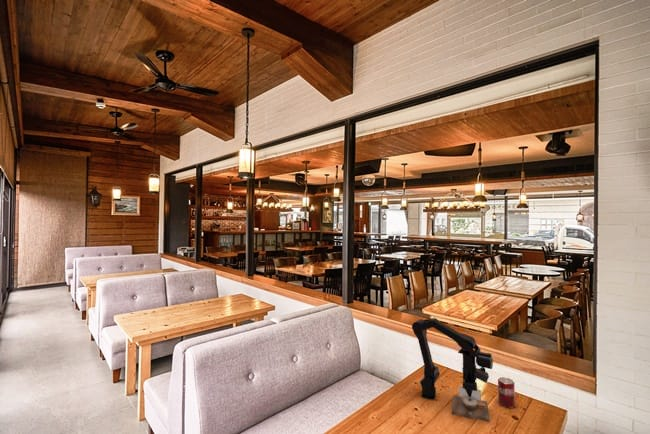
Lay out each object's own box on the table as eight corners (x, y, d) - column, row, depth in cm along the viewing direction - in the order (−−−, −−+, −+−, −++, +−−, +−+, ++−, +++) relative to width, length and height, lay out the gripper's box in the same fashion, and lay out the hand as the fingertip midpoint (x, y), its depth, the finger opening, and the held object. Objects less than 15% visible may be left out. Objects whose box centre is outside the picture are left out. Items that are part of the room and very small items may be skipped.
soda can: (517, 409, 156) (516, 384, 156) (501, 407, 157) (500, 383, 157) (511, 401, 163) (511, 377, 163) (496, 399, 164) (495, 376, 165)
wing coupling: (458, 407, 156) (458, 390, 156) (459, 399, 162) (458, 383, 162) (485, 412, 151) (484, 395, 151) (484, 404, 157) (483, 388, 158)
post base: (452, 414, 153) (452, 410, 153) (452, 397, 167) (452, 394, 167) (489, 421, 147) (489, 418, 147) (487, 404, 161) (487, 400, 161)
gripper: (488, 374, 145) (489, 409, 145) (485, 358, 162) (486, 388, 162) (462, 370, 150) (462, 404, 149) (462, 354, 167) (462, 384, 167)
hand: (469, 395), depth 157 cm, fingers open, 3 cm apart
